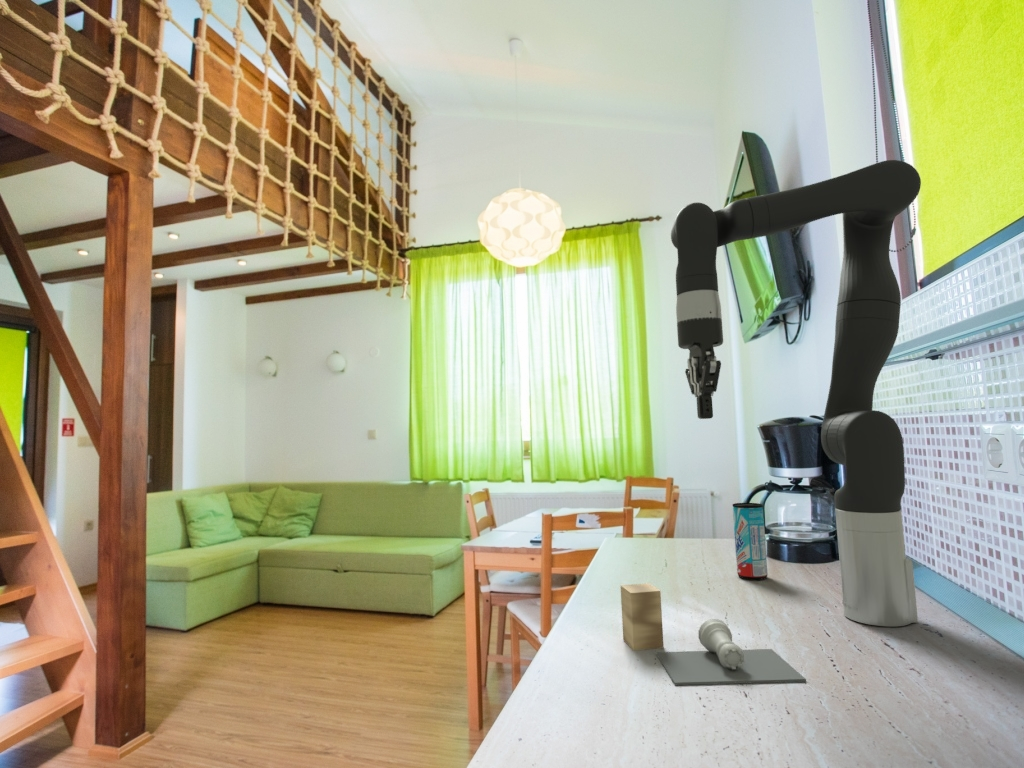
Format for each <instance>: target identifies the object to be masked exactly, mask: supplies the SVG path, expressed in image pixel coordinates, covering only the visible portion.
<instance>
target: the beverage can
mask: <svg viewBox="0 0 1024 768" xmlns="http://www.w3.org/2000/svg"><path fill="white" fill-rule="evenodd" d="M763 506H764V505H763V504H762V503H758V502H757V503H756V502H737V503H736V502H735V503H732V518H733V530H734V531H733V532H734V548H735V560H736V562H735V563H736V574H737V576H738V577H739V578H741V579H743V580H749V581H761V580H765V579H767V578H768V575H769V574H768V562H767V561H768V560H767V549H766V547H767V545H766V533H765V532H766V531H765V530H766V529H765V519H764V509H763Z"/></svg>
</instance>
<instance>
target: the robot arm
mask: <svg viewBox="0 0 1024 768" xmlns="http://www.w3.org/2000/svg"><path fill="white" fill-rule="evenodd" d="M921 180H922V179H921V176H920V174H919V172H918V171H917V169H916V168H915V167H914V166H913V165H912V164H910V163H908V162H905V161H903V160H896V159H889V160H888V159H887V160H883V161H878V162H875V163H873V164H871V165H870V164H869V165H868V166H865V167H862V168H859V169H856V170H854V171H850V172H848V173H846V174H841V175H840V176H836V177H832V178H829V179H825V180H822V181H819V182H815V183H812V184H807V185H804V186H800V187H796V188H791V189H787V190H781V191H776V192H773V193H772V192H771V193H767V194H760V195H757V196H751V197H746V198H740V199H737V200H734V201H732V202H730V203H728V204H727V205H726V206H725V207H723V208H721V209H717V210H714V211H713V209H712V208H711V206H708V205H707V204H705V203H703V202H691V203H689V204H686V205H685V206H684V207H682V208H681V209H680V211H678V213H677V215H676V217H675V220H674V221H673V225H672V228H671V232H670V239H671V240H670V241H671V243H672V245H673V247H675V249H677V265H676V268H675V286H676V287H675V288H676V304H675V305H676V306H675V310H676V311H675V314H676V330H677V345H678V347H679V348H680V349H682V350H688V351H689V352H688V353H689V354H688V355H689V357H688V358H687V362H686V363H687V368H685V371H684V373H685V377H686V380H687V383H688V386H689V389H690V392H691V395H693V396H694V398H696V409H697V410H696V411H697V418H698V419H700V420H708V419H712V418H713V417H714V413H713V411H714V409H713V397H714V393H716V392H717V389H718V383H719V377H720V372H721V368H722V363H721V360H717V356H716V355H715V354H716V353H715V350H714V349H715V348H717V347H720V346H721V345H723V343H724V332H723V319H722V316H723V315H722V304H721V299H720V294H719V283H718V280H719V279H718V270H717V254H718V253H717V252H718V248H719V247H722V246H725V245H726V246H727V245H728V244H731V243H733V242H737V241H745V240H750V239H755V238H756V239H757V238H763V237H767V236H771V235H776V234H780V233H783V232H786V231H789V230H793V229H796V228H798V227H802V226H804V225H807V224H810V223H811V222H815V221H818V220H821V219H825V218H829V217H832V216H835V215H836V216H837V215H840V214H842V230H843V232H842V234H843V235H842V236H843V237H842V238H843V252H842V254H843V255H842V256H843V257H842V263H841V271H840V280H839V288H838V289H839V290H838V297H837V298H838V299H837V305H836V316H835V328H834V329H835V332H834V346H833V353H832V354H833V355H832V362H831V363H832V364H831V365H832V366H831V377H830V378H831V379H830V385H829V391H828V395H827V400H826V405H825V409H824V410H825V411H824V414H823V419H822V423H821V424H822V425H821V430H820V440H821V441H820V442H821V447H822V449H823V452H824V453H825V455H826V456H827V457H828V459H829V460H831V461H832V462H834V463H836V464H837V465H841V466H845V482H844V483H843V485H842V486H841V487H840V488H839V489H837V490H836V491H835V493H834V497H833V498H834V507H835V509H834V511H835V521H836V534H837V535H836V536H837V546H838V556H839V557H838V558H839V570H840V580H841V581H840V582H841V595H842V606H843V615H844V616H845V617H846V618H848V619H849V620H851V621H855V622H858V623H862V624H866V625H870V626H871V625H872V626H878V627H879V626H880V627H891V628H892V627H904V626H907V625H910V624H912V623H913V624H914V623H915V624H916V623H918V622H919V618H918V607H917V597H916V586H915V575H914V564H913V561H912V559H910V558H908V557H906V556H907V555H906V545H905V537H904V535H905V534H904V527H903V515H902V498H903V496H904V494H905V493H904V492H905V489H906V488H905V487H906V471H905V449H904V448H905V446H904V440H903V436H902V432H901V429H900V426H899V425H898V424H897V422H896V421H895V420H894V418H893V417H891V416H890V415H889V414H887V413H885V412H883V411H879V410H873V403H874V402H873V401H874V394H875V388H876V387H875V386H876V384H877V380H878V378H879V375H880V373H881V372H882V370H883V368H884V366H885V364H886V362H887V360H888V358H889V356H890V355H891V352H892V351H893V348H894V346H895V343H896V340H897V338H898V334H899V328H900V313H901V305H902V304H901V303H902V302H901V298H902V297H901V290H900V286H899V283H898V280H897V277H896V275H895V274H896V273H894V270H893V267H892V263H891V259H890V247H891V246H890V243H891V237H892V236H891V235H892V231H893V225H894V221H895V219H896V217H898V215H900V214H901V213H902V212H904V210H906V209H907V208H909V207H910V205H911V204H912V203H913V202H914V201H915V199H916V198H917V196H918V195H919V193H920V190H921V186H922V185H921V184H922V181H921Z"/></svg>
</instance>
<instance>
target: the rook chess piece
mask: <svg viewBox="0 0 1024 768" xmlns="http://www.w3.org/2000/svg"><path fill="white" fill-rule="evenodd" d="M698 641H699V642H700V644H701V645H702V647H704V648H705V650H706V651H710V652H713V653H717V655H718V657H719V661H720V663H721V664H722V665H723V666H724V667H725V668H728V669H732V670H736V668H738V667H739V668H740V667H742V662H744V653H743V651H742V650H743V648H742V647H740V646H739V645H738V644H736V643H735V642H733V634H732V632H731V629H730V628H729V626H728V625H727V624H726V622H724V621H723V620H721V619H718V618H710V619H707V620H705V621H704V622H703V623H702V624H700V627H699V630H698Z"/></svg>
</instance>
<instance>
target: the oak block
mask: <svg viewBox="0 0 1024 768" xmlns="http://www.w3.org/2000/svg"><path fill="white" fill-rule="evenodd" d="M661 593H662V592H661V590H660V589H659V588H657V587H656V586H654V585H652V584H651V583H650V582H647V583H636V584H635V583H633V584H623V585H620V598H621V599H620V600H621V601H620V602H621V621H622V622H621V623H622V640H623V641H624V642H625V643H626V644H627V645H628V646H629V647H630V648H631V650H632V651H640V650H641V651H642V650H650V649H651V650H653V649H662V648H663V649H664V647H665V646H664V630H663V615H662V614H663V613H662V611H663V610H662V596H661Z"/></svg>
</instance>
